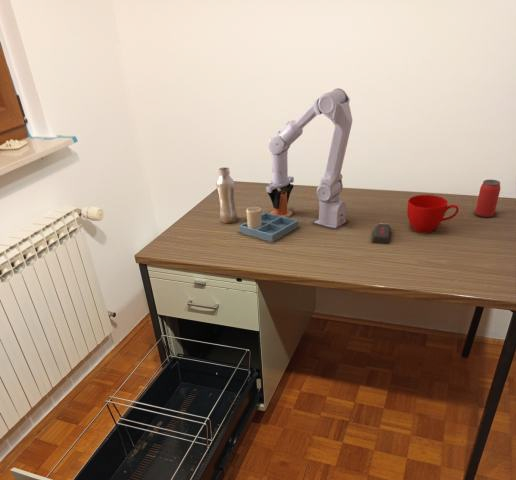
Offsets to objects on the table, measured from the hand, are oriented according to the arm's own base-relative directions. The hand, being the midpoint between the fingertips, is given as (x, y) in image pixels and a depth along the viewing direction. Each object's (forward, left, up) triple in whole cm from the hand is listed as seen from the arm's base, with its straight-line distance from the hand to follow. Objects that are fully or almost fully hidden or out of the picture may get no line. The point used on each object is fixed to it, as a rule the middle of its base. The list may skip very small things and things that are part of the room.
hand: (280, 205), depth 190 cm
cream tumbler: (-2, +19, -3) cm, 19 cm away
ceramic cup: (-53, -17, -4) cm, 56 cm away
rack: (-6, +15, -3) cm, 17 cm away
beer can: (-64, -40, -4) cm, 76 cm away
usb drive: (-42, -3, -4) cm, 42 cm away
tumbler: (0, 0, -3) cm, 3 cm away
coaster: (0, 0, -3) cm, 3 cm away
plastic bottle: (+12, +17, -4) cm, 21 cm away
